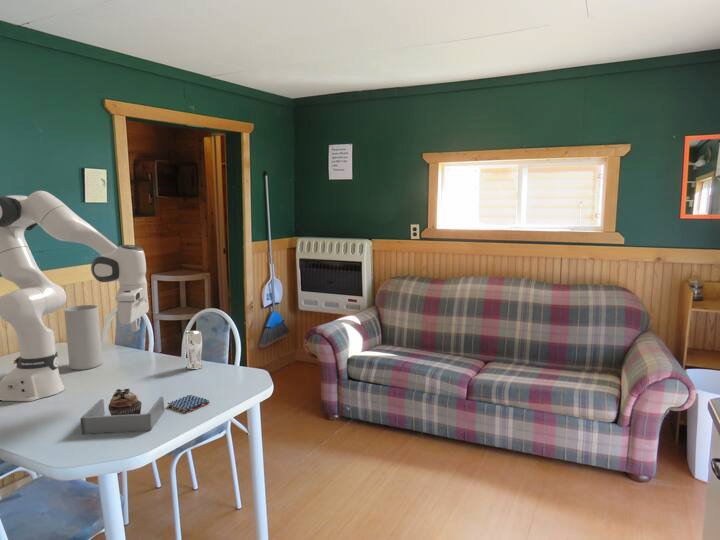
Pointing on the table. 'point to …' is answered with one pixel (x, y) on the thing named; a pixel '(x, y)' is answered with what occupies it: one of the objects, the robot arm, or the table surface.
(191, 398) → the woven mat
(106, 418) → the box
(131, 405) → the cupcake
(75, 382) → the table surface
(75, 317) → the cylinder vase
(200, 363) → the beer glass
